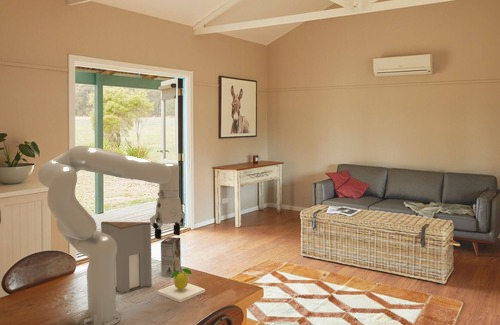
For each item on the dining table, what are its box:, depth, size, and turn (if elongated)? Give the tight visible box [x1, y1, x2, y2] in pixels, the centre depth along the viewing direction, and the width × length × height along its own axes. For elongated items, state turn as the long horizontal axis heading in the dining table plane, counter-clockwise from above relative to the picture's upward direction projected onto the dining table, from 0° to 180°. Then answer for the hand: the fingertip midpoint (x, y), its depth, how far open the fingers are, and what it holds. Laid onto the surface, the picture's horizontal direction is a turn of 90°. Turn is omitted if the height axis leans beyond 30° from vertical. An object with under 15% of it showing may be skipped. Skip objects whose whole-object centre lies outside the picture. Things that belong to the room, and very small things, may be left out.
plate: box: [156, 282, 206, 303], centre depth 180 cm, size 14×14×1 cm
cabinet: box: [100, 221, 153, 295], centre depth 182 cm, size 21×10×28 cm, turn 88°
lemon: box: [170, 268, 193, 290], centre depth 179 cm, size 7×6×10 cm
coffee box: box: [160, 236, 182, 278], centre depth 202 cm, size 9×6×16 cm
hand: (167, 236), depth 173 cm, fingers open, 9 cm apart
